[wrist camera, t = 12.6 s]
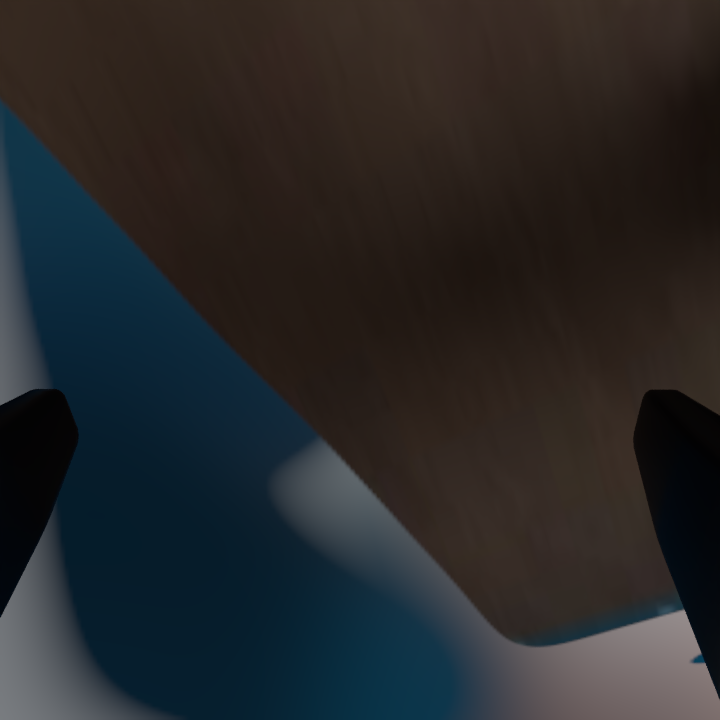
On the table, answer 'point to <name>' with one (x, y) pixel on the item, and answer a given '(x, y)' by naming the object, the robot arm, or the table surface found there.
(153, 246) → the table surface
